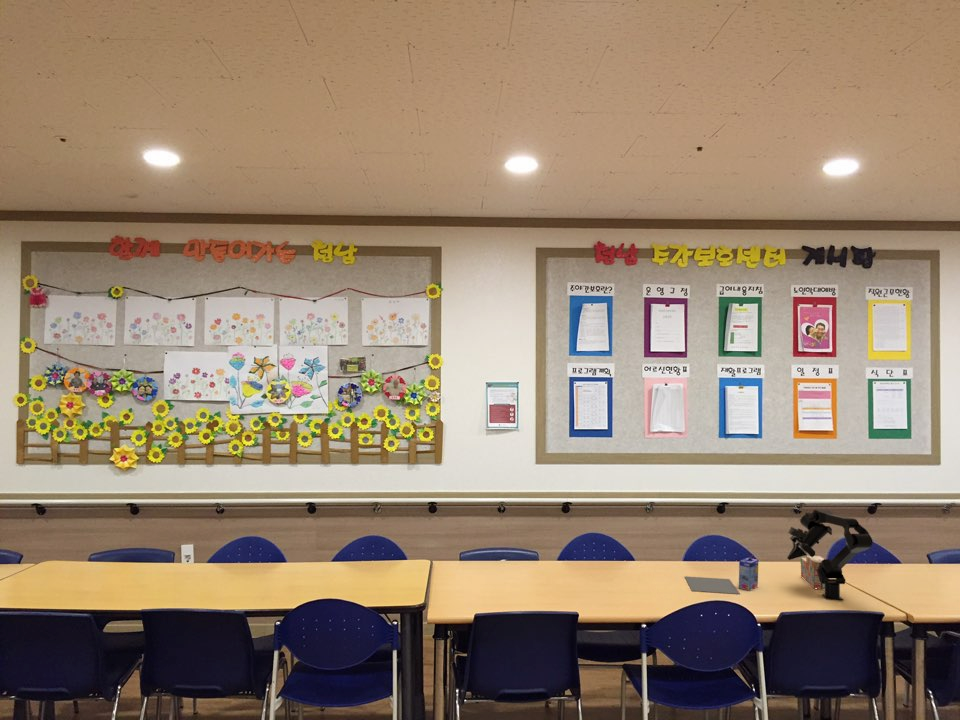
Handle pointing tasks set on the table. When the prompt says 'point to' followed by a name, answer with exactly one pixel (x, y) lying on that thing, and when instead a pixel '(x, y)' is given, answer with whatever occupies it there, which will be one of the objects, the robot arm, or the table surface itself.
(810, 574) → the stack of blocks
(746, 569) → the ink cartridge box
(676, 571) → the table surface
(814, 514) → the robot arm
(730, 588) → the mat
